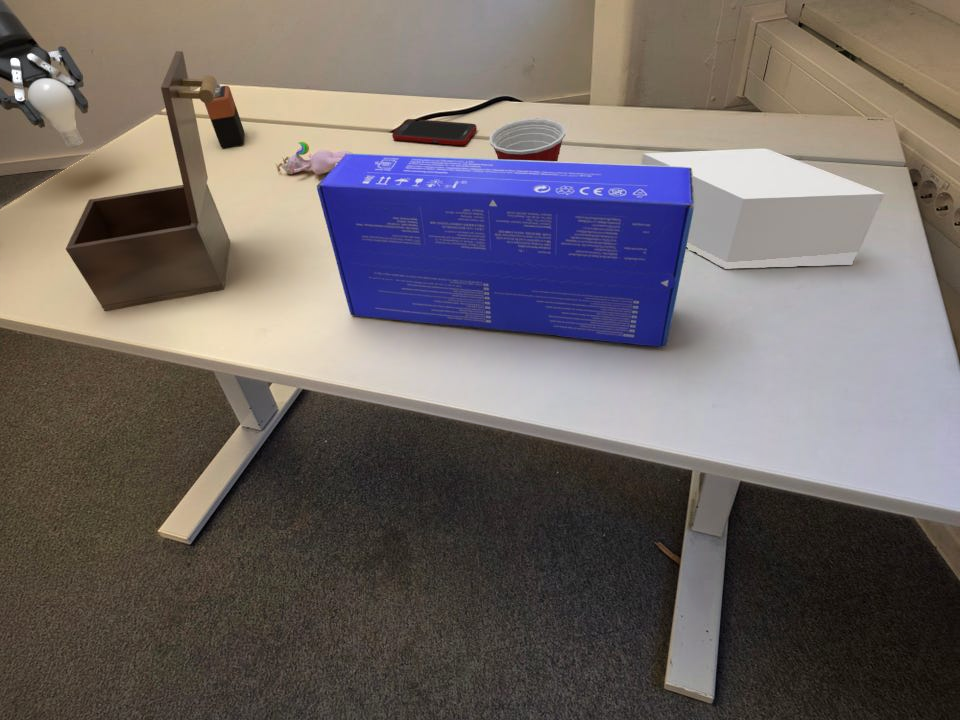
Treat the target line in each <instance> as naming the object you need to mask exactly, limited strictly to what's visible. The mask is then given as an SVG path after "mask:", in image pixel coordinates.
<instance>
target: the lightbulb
mask: <svg viewBox="0 0 960 720" xmlns="http://www.w3.org/2000/svg"><path fill="white" fill-rule="evenodd" d="M27 100H28V101H29V102H30V103H31V104H32V106H33V107H34V108H35V110H36V111H37V112H38V113H39V115H40V116H41V117H42V119H43V120H45V121H48V122H49V123H50V124H51V125H52V126H53V128H54V129H55V130H56V131H57V132H58V133H59V134H60V136H61V138H62V139H63V141H64V144H65V146H67V147H70V148H79V147H80V146H81V145H82V144H83V143H84V139H83V137H82V136H81V134H80V132H79V129H78V127H77V121H76V118H75V116H76V115H75V113H76V108H77V105H76V102H75V98H74V96H73V94H72V92H71V91H70V89H69V88H68V87H67V86H66V85H64V84H63V83H61V82H59V81H57V80H54V79H50V78H43V79H38V80H36V81H34V82H33V83H32V84H31V85H30V87H29V89H28V88H27Z"/></svg>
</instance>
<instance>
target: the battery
mask: <svg viewBox="0 0 960 720" xmlns="http://www.w3.org/2000/svg"><path fill="white" fill-rule="evenodd" d="M204 106H205V109H206V111H207V114H208V117H209V119H210V122H211V125H212V127H213V130H214V133H215V135H216V139H217V141H218V144H219V146H220V148H221V149H226V148H233V147H238V146H243V145H244V141H245V128H244V125H243V123H242V120H241V117H240V115H239V111H238V109H237V105H236V102H235V100H234V96H233V94H232V91H231V88H230V86H229V85H222V86H221V85H220V83H217V87H216V91H215V95H214V100H213V101H212V102H211V103H208V104H207V103H204Z"/></svg>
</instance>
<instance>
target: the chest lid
mask: <svg viewBox="0 0 960 720" xmlns="http://www.w3.org/2000/svg"><path fill="white" fill-rule="evenodd" d="M187 70H188V69H187V66H186V61H185V56H184V52H183V50H182V51H180V50H179V51H178V50H175V53H174V55H173V57H172V59H171V62H170V65H169V67H168V69H167V72H166V74H165V76H164V78H163V81H162V83H161V86H160V91H161V95H162V99H163V103H164V107H165V112H166V117H167V122H168V125H169V129H170V134H171V138H172V143H173V147H174V151H175V156H176V161H177V164H178V169H179V173H180V177H181V182H182V185H183V187H184V191H185V195H186V200H187V204H188V209H189V213H190V217H191V222H192V224H198V223H199V219H200V214H201V209H202V204H203V199H204V194H205V189H206V184H207V185H208V179H209V177H208V171H207V165H206V162H205V156H204V152H203V147H202V142H201V135H200V131H199V126H198V121H197V116H196V110H195V106H194V101H193V100H200V101H201V103H204V104H205V103H207V104H208V103H211V102H212V101H213V100H214V95H215V91H216V87H217V84H218V81H217V79H216V78H215V76H213V75H211V74H207V75H204V76H203V78H189V76H188V71H187ZM191 87H192V88H193V87H194V88H195V87H196V88H199V90H191Z"/></svg>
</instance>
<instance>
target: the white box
mask: <svg viewBox="0 0 960 720" xmlns="http://www.w3.org/2000/svg"><path fill="white" fill-rule="evenodd" d="M640 165H654V166H679V167H690V168H691V169H692V171H693V187H694V210H693V215H692V221H691V226H690V230H689V235H688V240H687V243H690V244H691V245H693V246H696V247H697V248H699V249H701V250H703V251H706V252H707V253H710V254H712V255H714V256H715V257H718V258H719V259H722V260H723V261H725V262H737V261H738V262H739V261H752V260H753V261H754V260H766V259H776V258H777V259H778V258H789V257H790V258H791V257H802V256H817V255H827V254H828V255H829V254H839V253H849V252H850V253H851V252H853V253H854V252H858V253H859V252H860V250H861V247H862V245H863V243H864V241H865V239H866V236H867V234H868V233H869V230H870V228H871V225H872V224H873V221H874V218H875V216H876V214H877V211H878V209H879V208H880V206H881V203H882V200H883V199H884V196H885V193H884V192H881V191H878V190H876V189H874V188H871V187H868V186H865V185H863V184H861V183H857V182H855V181H852V180H850V179H847V178H844V177H842V176H839V175H837V174H834V173H831V172H828V171H826V170H823V169H821V168H818V167H815V166H813V165H811V164H807V163H805V162H803V161H801V160H797V159H794V158H792V157H789V156H786V155H784V154H782V153H779V152H776V151H774V150H771V149H768V148H766V147H764V148H742V149H717V150H695V151H693V150H692V151H691V150H690V151H672V152H670V151H669V152H648V153H647V152H643V153H642V157H641V163H640Z"/></svg>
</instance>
